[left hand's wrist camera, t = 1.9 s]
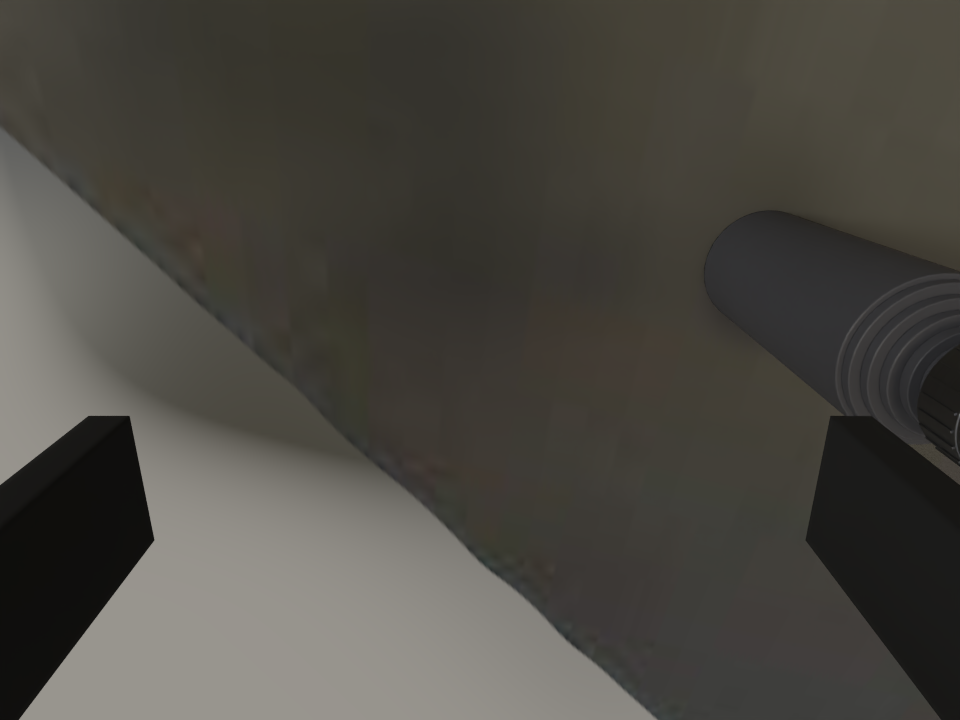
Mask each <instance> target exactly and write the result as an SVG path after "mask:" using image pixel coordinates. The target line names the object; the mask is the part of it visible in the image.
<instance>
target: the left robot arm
mask: <svg viewBox="0 0 960 720" xmlns="http://www.w3.org/2000/svg"><path fill="white" fill-rule="evenodd" d="M153 541H154V536H153V531H152V526H151V521H150V516H149V511H148V506H147V501H146V496H145V491H144V486H143V481H142V476H141V471H140V466H139V461H138V456H137V451H136V446H135V441H134V436H133V431H132V426H131V421H130V417H129V416H88V417H87V418H85V419H84V420H83V421H82V422H80V423H79V424H78V425H77V426H75V427H74V428H73V429H71V430H70V431H69V432H68V433H66V434H65V435H64V436H62V437H61V438H60V439H59V440H57V441H56V442H55V443H54V444H52V445H51V446H50V447H48V448H47V449H46V450H45V451H43V452H42V453H41V454H39V455H38V456H37V457H36V458H34V459H33V460H32V461H31V462H29V463H28V464H27V465H25V466H24V467H23V468H22V469H20V470H19V471H18V472H16V473H15V474H14V475H13V476H11V477H10V478H9V479H8V480H6V481H5V482H4V483H2V484H1V485H0V720H19V719H20V717H21V716H22V715H23V713H24V712H25V711H26V709H27V708H28V707H29V705H30V704H31V703H32V701H33V700H34V699H35V698H36V696H37V695H38V694H39V692H40V691H41V690H42V688H43V687H44V686H45V684H46V683H47V682H48V680H49V679H50V678H51V676H52V675H53V674H54V672H55V671H56V670H57V668H58V667H59V666H60V664H61V663H62V662H63V660H64V659H65V658H66V656H67V655H68V654H69V653H70V651H71V650H72V649H73V647H74V646H75V645H76V643H77V642H78V641H79V639H80V638H81V637H82V635H83V634H84V633H85V631H86V630H87V629H88V627H89V626H90V625H91V623H92V622H93V621H94V619H95V618H96V617H97V615H98V614H99V613H100V611H101V610H102V609H103V607H104V606H105V605H106V604H107V602H108V601H109V600H110V598H111V597H112V595H113V594H114V593H115V592H116V590H117V589H118V588H119V586H120V585H121V584H122V582H123V581H124V580H125V578H126V577H127V576H128V574H129V573H130V572H131V570H132V569H133V568H134V566H135V565H136V564H137V563H138V561H139V560H140V559H141V557H142V556H143V555H144V553H145V552H146V551H147V549H148V548H149V547H150V545H151V544H152V543H153ZM806 541H807V543H808V544H809V545H810V547H811V548H812V549H813V551H814V552H815V553H816V555H817V556H818V557H819V559H820V560H821V561H822V563H823V564H824V565H825V566H826V568H827V569H828V570H829V572H830V573H831V574H832V576H833V577H834V578H835V580H836V581H837V582H838V584H839V585H840V586H841V588H842V589H843V590H844V592H845V593H846V594H847V596H848V597H849V598H850V600H851V601H852V602H853V604H854V605H855V606H856V608H857V609H858V610H859V611H860V613H861V614H862V615H863V617H864V618H865V619H866V621H867V622H868V623H869V625H870V626H871V627H872V629H873V630H874V631H875V633H876V634H877V635H878V637H879V638H880V639H881V641H882V642H883V643H884V645H885V646H886V647H887V649H888V650H889V651H890V653H891V654H892V655H893V656H894V658H895V659H896V660H897V662H898V663H899V664H900V666H901V667H902V668H903V670H904V671H905V672H906V674H907V675H908V676H909V678H910V679H911V680H912V682H913V683H914V684H915V686H916V687H917V688H918V690H919V691H920V692H921V694H922V695H923V696H924V698H925V699H926V700H927V701H928V703H929V704H930V705H931V707H932V708H933V709H934V711H935V712H936V713H937V715H938V716H939V717H940V719H941V720H960V485H959V484H958V483H956V482H955V481H954V480H952V479H951V478H950V477H949V476H947V475H946V474H945V473H944V472H942V471H941V470H940V469H938V468H937V467H936V466H935V465H933V464H932V463H931V462H930V461H928V460H927V459H926V458H924V457H923V456H922V455H921V454H919V453H918V452H917V451H915V450H914V449H913V448H912V447H910V446H909V445H908V444H907V443H905V442H904V441H903V440H901V439H900V438H899V437H898V436H896V435H895V434H894V433H892V432H891V431H890V430H889V429H887V428H886V427H885V426H884V425H882V424H881V423H880V422H878V421H877V420H876V419H875V418H873V417H872V416H830V421H829V426H828V431H827V436H826V441H825V446H824V451H823V456H822V461H821V466H820V471H819V476H818V481H817V486H816V491H815V496H814V501H813V506H812V511H811V516H810V521H809V526H808V531H807V536H806Z"/></svg>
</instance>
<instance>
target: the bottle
mask: <svg viewBox="0 0 960 720" xmlns="http://www.w3.org/2000/svg"><path fill="white" fill-rule="evenodd" d="M704 277H705V286H706V289H707V293H708V295H709V297H710V299H711V301H712V302H713V304H714V305H715V306H716V307H717V308H718V310H720V311H721V312H722V313H723V314H724V315H725V316H727V317H728V318H729V319H730V320H731V321H733V322H734V323H735V324H736V325H737V326H739V327H740V328H741V329H742V330H743V331H745V332H746V333H747V334H748V335H749V336H750V337H752V338H753V339H754V340H755V341H756V342H758V343H759V344H760V345H761V346H762V347H764V348H765V349H766V350H767V351H768V352H770V353H771V354H772V355H773V356H774V357H775V358H777V359H778V360H779V361H780V362H781V363H783V364H784V365H785V366H786V367H787V368H789V369H790V370H791V371H792V372H793V373H795V374H796V375H797V376H798V377H799V378H800V379H802V380H803V381H804V382H805V383H806V384H808V385H809V386H810V387H811V388H812V389H814V390H815V391H816V392H817V393H818V394H820V395H821V396H822V397H823V398H824V399H825V400H827V401H828V402H829V403H830V404H831V405H833V406H834V407H835V408H836V409H837V410H839V411H840V412H841V413H842V414H843V415H844V416H872V417H873V418H875V419H876V420H877V421H878V422H880V423H881V424H882V425H884V426H885V427H886V428H887V429H889V430H890V431H891V432H892V433H894V434H895V435H896V436H898V437H899V438H900V439H901V440H903V441H904V442H905V443H907V444H929V443H931V442H930V441H928V440H927V439H926V438H925V437H926V436H925V435H924V433H923V431H922V429H921V427H920V426H919V421H918V416H917V402H918V396H919V392H920V389H921V387H922V384H923V382H924V380H925V378H926V377H927V375H928V373H929V372H930V370H931V369H932V368H933V366H934V365H935V364H936V363H937V362H938V361H939V360H940V359H941V358H942V357H943V356H944V355H945V354H946V353H947V352H949V351H950V350H951V349H953V348H954V347H956V346H957V345H959V344H960V272H959V271H957V270H954V269H951V268H948V267H945V266H942V265H939V264H936V263H933V262H930V261H927V260H924V259H921V258H918V257H915V256H912V255H909V254H906V253H903V252H900V251H897V250H894V249H892V248H889V247H886V246H883V245H880V244H877V243H874V242H871V241H868V240H865V239H862V238H859V237H856V236H853V235H850V234H847V233H844V232H841V231H838V230H835V229H832V228H829V227H827V226H824V225H821V224H818V223H815V222H812V221H809V220H806V219H803V218H800V217H797V216H794V215H791V214H788V213H784V212H780V211H761V212H756V213H752V214H749V215H747V216H744V217H742V218H740V219H739V220H737V221H735V222H734V223H732V224H731V225H730V226H728V227H727V228H726V229H725V230H724V231H723V232H722V233H721V234H720V235H719V237H718V238H717V239H716V241H715V242H714V244H713V246H712V247H711V249H710V252H709V254H708V257H707V260H706V264H705V272H704Z"/></svg>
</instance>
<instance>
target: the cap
mask: <svg viewBox="0 0 960 720" xmlns="http://www.w3.org/2000/svg"><path fill="white" fill-rule="evenodd" d="M917 416H918V421H919V426H920V427H921V429H922V431H923V433H924V435H925V436H926V437H925V438H926V439H927V440H928V441H930V442H931V443H932V444H934V445H935V446H936V447H935V448H936V449H937V450H938V451H940V452H941V453H942V454H944V455H945V456H946V457H948V458H949V459H950V460H952V461H953V462H954V463H956V464H957V465H958V466H960V344H959V345H957V346H956V347H954V348H953V349H951V350H950V351H949V352H947V353H946V354H945V355H944V356H943V357H942V358H941V359H940V360H939V361H938V362H937V363H936V364H935V365H934V366H933V368H932V369H931V370H930V372H929V373H928V375H927V377H926V378H925V380H924V382H923V384H922V387H921V389H920V392H919V396H918V402H917Z"/></svg>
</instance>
